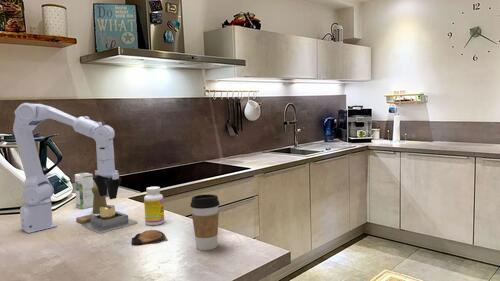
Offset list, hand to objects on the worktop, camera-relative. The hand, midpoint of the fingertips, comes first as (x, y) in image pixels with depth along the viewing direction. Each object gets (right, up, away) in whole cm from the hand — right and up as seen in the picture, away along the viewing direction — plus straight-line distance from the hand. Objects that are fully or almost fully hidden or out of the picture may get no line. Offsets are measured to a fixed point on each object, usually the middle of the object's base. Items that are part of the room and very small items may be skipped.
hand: (108, 197), depth 132 cm
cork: (-10, -9, +19) cm, 23 cm away
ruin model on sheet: (-21, -7, +51) cm, 56 cm away
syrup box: (-21, -9, +28) cm, 36 cm away
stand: (-10, -10, +6) cm, 15 cm away
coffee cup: (+38, -11, -25) cm, 47 cm away
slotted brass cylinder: (0, -9, 0) cm, 9 cm away
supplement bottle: (+17, -10, +1) cm, 19 cm away
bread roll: (+19, -11, -17) cm, 28 cm away
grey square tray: (0, -10, +1) cm, 10 cm away
